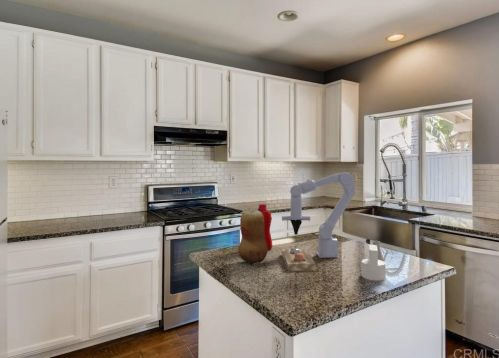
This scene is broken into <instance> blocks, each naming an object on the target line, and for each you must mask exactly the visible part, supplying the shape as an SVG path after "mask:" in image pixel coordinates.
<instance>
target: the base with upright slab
mask: <svg viewBox="0 0 499 358" xmlns="http://www.w3.org/2000/svg"><path fill="white" fill-rule="evenodd" d="M368 255H369V256H368V258H363V259H362V260H361V277H362V278H364V279H366V280H370V281H378V282H379V281H383V280H386V262H383V261H381V260H378V249H377V245H374V244H368Z"/></svg>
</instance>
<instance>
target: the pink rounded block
mask: <svg viewBox="0 0 499 358" xmlns="http://www.w3.org/2000/svg"><path fill="white" fill-rule="evenodd" d="M295 261H304V254H302V253H296V254H295Z"/></svg>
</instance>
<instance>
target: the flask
mask: <svg viewBox="0 0 499 358" xmlns="http://www.w3.org/2000/svg"><path fill="white" fill-rule="evenodd" d="M372 242H373V243H372V244H373V245H377V249H378V260H381V261H383V262H385V259H384V256H383V255H382V250H381V246H380V244H381V241H380V240H373V241H372ZM385 263H386V262H385Z"/></svg>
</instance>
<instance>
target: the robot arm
mask: <svg viewBox="0 0 499 358" xmlns="http://www.w3.org/2000/svg"><path fill="white" fill-rule="evenodd" d="M330 183H331V184H332V183H335V184H339V183H340V184H341V187H342V190H343V194H342V195H341V196H340V197H339V198H340V199H339V200H338V202H337V203H336V205H335V206H334V208H333V209H332V211H331V212H330V214H329V216H328V218H326V220H325V221H324V223H322V224H321V225H320V226H319V228H318V230H319V231H318V235H319V236H317V242H318V244H317V246H318V247H317V250H318V251H317V252H315V254H316V255H317V256H318V257H319V258H327V259H328V258H339V242H338V239H337V237H333V236H332V235H333V230H334V229H335V227H336V224H337V223H338V222H339V220H340V218H341V216H342V215H343V214H344V212H345V210H346V209H347V208H348V205H350V203H351V201H352V200H353V197H354V196H355V193H356V191H355V189H356V187H355V179H354V176H353V175H352V174H351V173H350V172H346V171H343V172H341V173H340V172H339V173H334V174H331V175H328V176H325V177H323V178H320V179H317V180H313V179H307V180H306V181H304V182H298V183H297V184H294V185H293V186H291V187H290V191H289V192H290V215H285V216H284V215H283V216H281V221H282V222H283V221H289V222H290V223H291V226H292V229H293V233H294V235H295V236H296V235H297V236H298V235H299V230H300V227H301V225H302V222H303V221H308V222H310V221H311V216H307V215H302V211H303V209H302V208H303V207H302V206H303V205H302V204H303V203H302V201H303V200H302V195H305V194H308V193H311V192H314V191H317V188H318V187H321V186H324V185H327V184H330Z"/></svg>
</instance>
